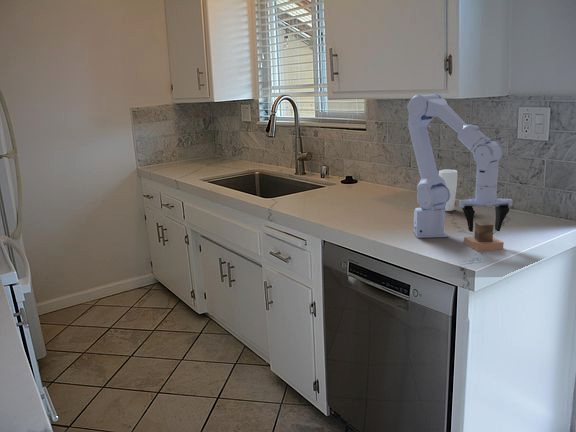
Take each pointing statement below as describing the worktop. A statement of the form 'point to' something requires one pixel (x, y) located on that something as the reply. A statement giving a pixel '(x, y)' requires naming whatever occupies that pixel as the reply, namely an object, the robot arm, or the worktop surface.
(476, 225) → the walnut block
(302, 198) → the worktop surface
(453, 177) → the drinking glass
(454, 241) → the worktop surface
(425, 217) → the robot arm
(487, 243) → the terracotta tile
